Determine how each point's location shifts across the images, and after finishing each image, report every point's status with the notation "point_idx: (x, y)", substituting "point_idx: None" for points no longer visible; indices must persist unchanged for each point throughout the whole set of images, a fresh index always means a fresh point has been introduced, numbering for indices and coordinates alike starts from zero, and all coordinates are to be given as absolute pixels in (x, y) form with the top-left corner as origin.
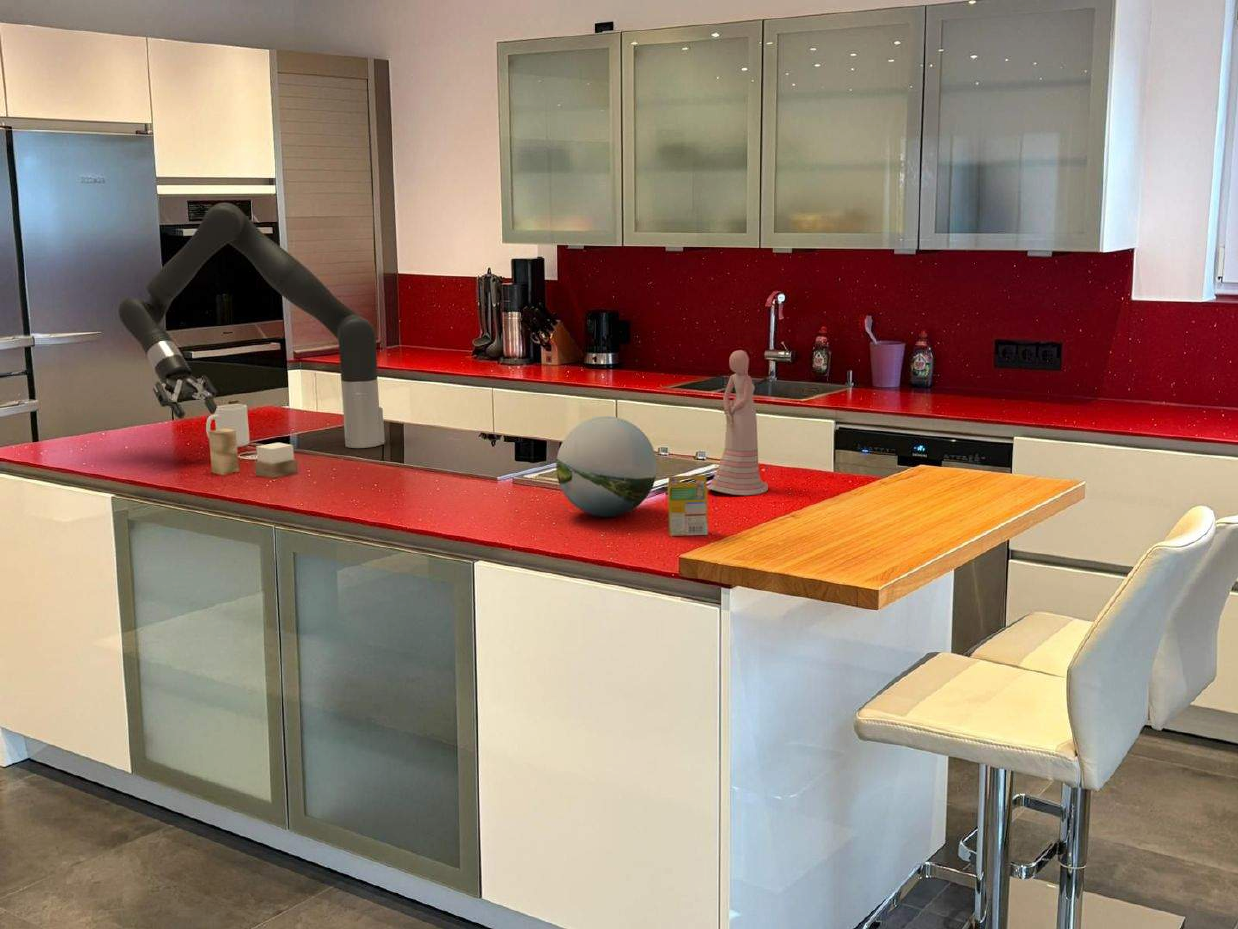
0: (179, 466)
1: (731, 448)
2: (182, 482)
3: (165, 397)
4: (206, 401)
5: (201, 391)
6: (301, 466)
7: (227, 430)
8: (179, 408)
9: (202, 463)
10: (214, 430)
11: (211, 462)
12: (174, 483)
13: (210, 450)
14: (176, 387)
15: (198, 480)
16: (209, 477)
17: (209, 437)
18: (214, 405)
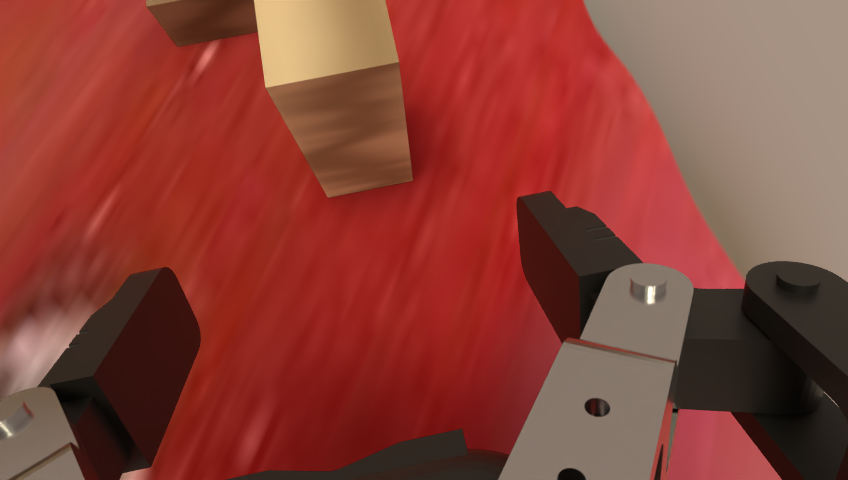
0: (484, 449)
1: None
2: (581, 80)
3: (820, 299)
4: (132, 410)
5: (79, 452)
6: (85, 49)
7: (289, 11)
8: (573, 217)
9: (360, 439)
10: (352, 68)
11: (409, 157)
12: (614, 83)
13: (405, 127)
14: (616, 470)
15: (515, 73)
16: (458, 97)
17: (400, 82)
18: (123, 289)
